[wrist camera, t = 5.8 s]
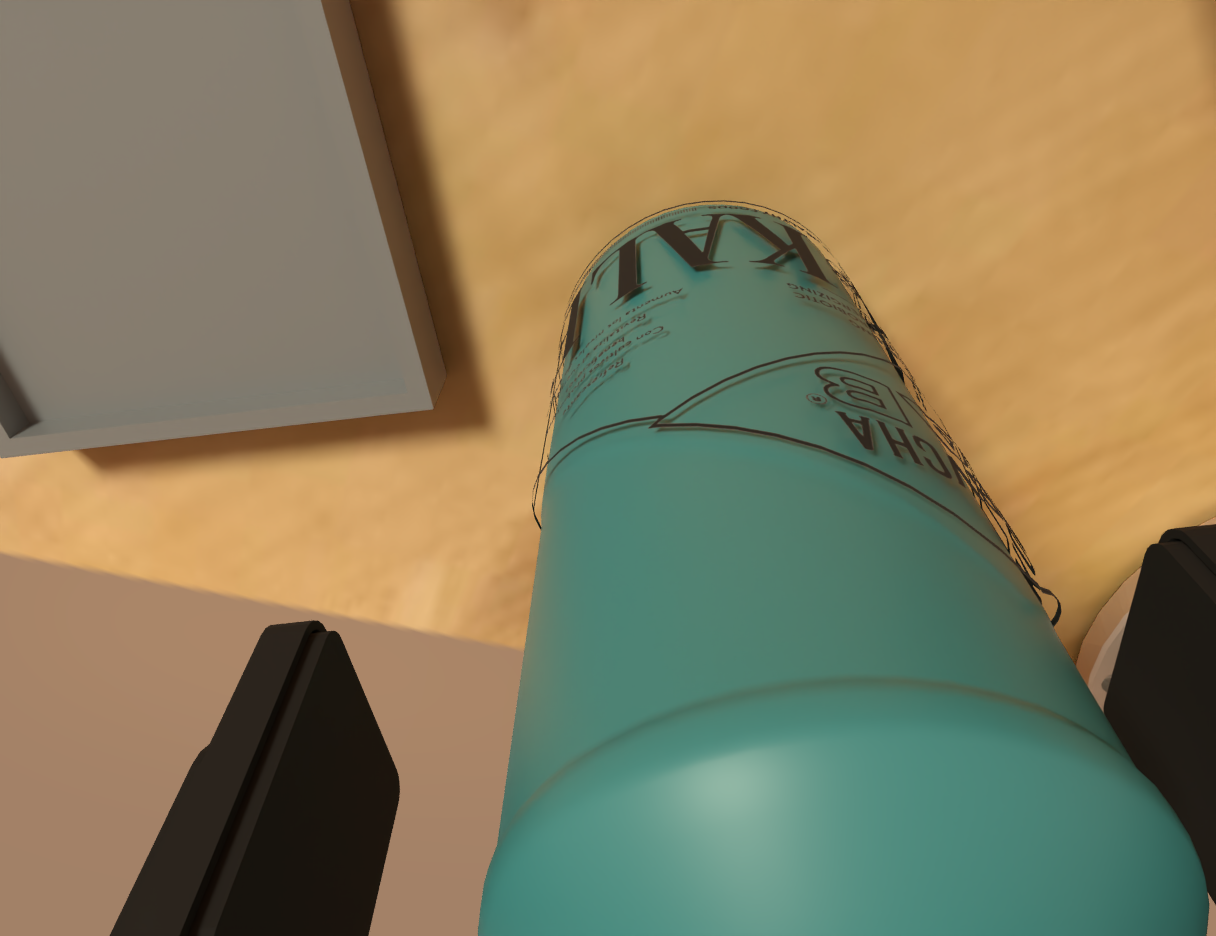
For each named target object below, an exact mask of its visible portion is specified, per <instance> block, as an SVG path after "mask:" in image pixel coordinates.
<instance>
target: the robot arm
mask: <svg viewBox="0 0 1216 936" xmlns="http://www.w3.org/2000/svg"><path fill="white" fill-rule="evenodd" d="M1076 668H1077V669H1078V671H1079V673H1080V674H1081V676H1082V678H1083V679H1084V681H1085V683H1086V684H1087V686H1088V688H1089V689H1090V691H1091V693H1092V694H1093V696H1094V698H1095V699H1096V701H1097V703H1098V704H1099V706H1100V708H1101V710H1102V711H1103V713H1104V715H1105V716H1106V718H1107V720H1108V721H1109V723H1110V725H1111V726H1112V728H1113V730H1114V731H1115V733H1116V735H1117V736H1118V738H1119V740H1120V741H1121V743H1122V745H1123V746H1124V748H1125V750H1126V751H1127V753H1128V755H1129V756H1130V758H1131V760H1132V761H1133V763H1134V765H1135V766H1136V768H1137V769H1138V770H1139V771H1140V772H1141V773H1142V774H1143V775H1145V776H1146V777H1147V778H1148V779H1149V780H1150V781H1151V782H1152V783H1153V784H1154V785H1155V786H1156V787H1157V788H1158V790H1159V791H1160V792H1161V794H1162V795H1163V796H1164V798H1165V799H1166V800H1167V802H1168V803H1169V804H1170V806H1171V807H1172V808H1173V810H1174V811H1175V813H1176V814H1177V816H1178V818H1179V819H1180V821H1181V823H1182V824H1183V826H1184V828H1185V829H1186V831H1187V832H1188V834H1189V836H1190V838H1191V841H1192V843H1193V845H1194V847H1195V850H1196V852H1197V854H1198V857H1199V859H1200V861H1201V865H1202V869H1203V872H1204V876H1205V880H1206V887H1207V892H1208V893H1209V895H1210V896H1211V898H1212V900H1213V901H1214V903H1215V904H1216V517H1214V518H1212V519H1210V520H1208V521H1206V522H1204V523H1202V524H1200V525H1198V526H1193V527H1184V528H1174V529H1170V530H1167V531H1166V532H1165V533H1164V534H1163V535H1162V536H1161V538H1160V540H1159V543H1157V544H1152V545H1150V546H1149V547H1148V548H1147V551H1146V553H1145V556H1144V560H1143V563H1142V566H1141V567H1140V568H1139V569H1138V570H1137V571H1136V572H1135V573H1134V574H1132V575H1131V576H1130V577H1129V578H1128V579H1127V580H1126V581H1125V582H1124V583H1123V584H1122V585H1121V586H1120V588H1119V589H1118V590H1117V591H1116V592H1115V594H1114V595H1113V596H1112V597H1111V598H1110V600H1109V601H1108V602H1107V603H1106V604H1105V606H1104V607H1103V608H1102V609H1101V611H1100V612H1099V613H1098V615H1097V617H1096V619H1095V620H1094V622H1093V624H1092V626H1091V628H1090V629H1089V631H1088V633H1087V635H1086V637H1085V638H1084V640H1083V642H1082V646H1081V649H1080V652H1079V656H1078V659H1077V663H1076ZM399 793H400V786H399V776H398V773H397V769H396V767H395V765H394V762H393V760H392V757H391V755H390V753H389V750H388V748H387V746H386V743H385V741H384V738H383V736H382V734H381V731H380V729H379V727H378V724H377V722H376V720H375V717H374V715H373V712H372V710H371V708H370V705H369V703H368V701H367V698H366V696H365V693H364V691H363V689H362V686H361V684H360V681H359V679H358V677H357V674H356V672H355V670H354V668H353V665H352V663H351V660H350V658H349V656H348V653H347V651H346V648H345V646H344V644H343V641H342V639H341V637H340V635H339V634H338V633H337V632H336V631H326V629H325V627H324V626H323V624H322V623H320V622H319V621H305V622H296V623H287V624H277V625H270V626H269V627H267V628H265V630H264V632H263V633H262V635H261V636H260V639H259V641H258V643H257V645H256V647H255V649H254V652H253V654H252V656H251V658H250V660H249V662H248V664H247V666H246V668H245V670H244V672H243V675H242V677H241V679H240V681H239V683H238V685H237V687H236V690H235V692H234V694H233V696H232V698H231V700H230V702H229V704H228V706H227V708H226V711H225V713H224V715H223V717H222V719H221V721H220V723H219V726H218V728H217V730H216V732H215V734H214V736H213V738H212V740H211V743H210V744H209V745H208V746H207V747H205V748H204V749H203V750H202V751H201V752H200V753H199V754H198V756H197V758H196V759H195V761H194V762H193V764H192V766H191V768H190V770H189V772H188V774H187V776H186V778H185V780H184V782H183V784H182V787H181V789H180V791H179V793H178V795H177V797H176V799H175V801H174V803H173V805H172V807H171V809H170V811H169V813H168V816H167V818H166V820H165V822H164V824H163V826H162V828H161V830H160V832H159V834H158V836H157V838H156V841H155V843H154V845H153V847H152V849H151V851H150V853H149V855H148V857H147V859H146V861H145V863H144V866H143V868H142V870H141V872H140V874H139V876H138V878H137V880H136V882H135V884H134V886H133V888H132V890H131V892H130V894H129V897H128V899H127V901H126V903H125V905H124V907H123V909H122V912H121V913H120V915H119V917H118V919H117V921H116V924H115V926H114V928H113V930H112V932H111V934H110V936H368V935H369V930H370V925H371V921H372V917H373V913H374V908H375V904H376V899H377V895H378V891H379V886H380V882H381V877H382V873H383V869H384V864H385V860H386V855H387V851H388V847H389V842H390V837H391V833H392V829H393V824H394V820H395V815H396V811H397V807H398V801H399Z"/></svg>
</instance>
